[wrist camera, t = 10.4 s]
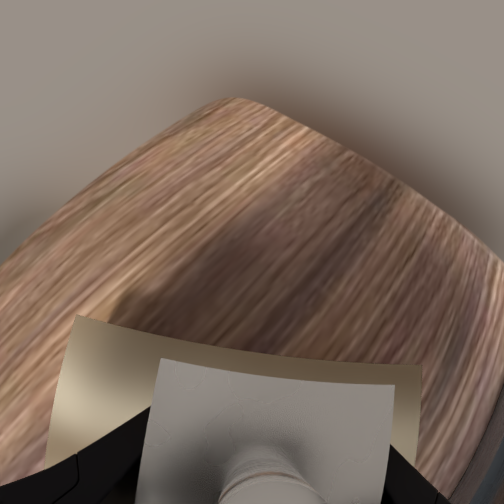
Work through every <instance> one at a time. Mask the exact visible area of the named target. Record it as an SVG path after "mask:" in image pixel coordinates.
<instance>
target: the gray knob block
mask: <svg viewBox="0 0 504 504" xmlns="http://www.w3.org/2000/svg"><path fill="white" fill-rule="evenodd" d="M394 392H395V385H370V384H346V383H329V382H316V381H304V380H294V379H284V378H276V377H268V376H260V375H253V374H246V373H239V372H232V371H226V370H220V369H215V368H209V367H204V366H198V365H193V364H188V363H183V362H178V361H174V360H169V359H165V358H161V360H160V364H159V369H158V374H157V378H156V383H155V388H154V393H153V398H152V403H151V408H150V413H149V418H148V424H147V429H146V435H145V440H144V446H143V452H142V458H141V465H140V471H139V478H138V484H137V492H136V499H135V504H380V503H381V498H382V493H383V488H384V482H385V476H386V470H387V463H388V456H389V448H390V440H391V430H392V420H393V408H394Z"/></svg>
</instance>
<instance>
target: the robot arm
mask: <svg viewBox="0 0 504 504" xmlns="http://www.w3.org/2000/svg"><path fill="white" fill-rule="evenodd" d="M150 408H151V406H149V407H148V408H146V409H145V410H143V411H142V412H140V413H139V414H137V415H136V416H134V417H133V418H131V419H130V420H128V421H126V422H125V423H123V424H122V425H120V426H119V427H117V428H116V429H114V430H112V431H111V432H109V433H108V434H106V435H105V436H103V437H101V438H100V439H98V440H96V441H95V442H93V443H92V444H90V445H88V446H87V447H85V448H83V449H82V450H80V451H78V452H77V454H73V455H71V456H70V457H68V458H66V459H64V460H63V461H61V462H59V463H57V464H55V465H53V466H51V467H49V468H47V469H45V470H42V471H40V472H38V473H35V474H33V475H30V476H28V477H25V478H22V479H20V480H17V481H14V482H11V483H9V484H6V485H3V486H0V504H135V499H136V492H137V484H138V478H139V471H140V465H141V458H142V452H143V446H144V440H145V435H146V429H147V424H148V418H149V413H150ZM380 504H452V503H450V502H449V501H448V500H447V499H446V498H445V497H444V496H443V495H442V494H441V493H440V492H438V491H437V489H436V488H434V487H433V486H432V485H431V484H430V483H429V482H428V481H427V480H426V479H425V478H424V477H423V476H422V475H421V474H420V473H419V472H418V471H417V470H416V469H415V468H414V467H413V466H412V465H411V464H410V463H409V462H408V461H407V460H406V459H405V458H404V457H403V456H402V455H401V454H400V453H399V452H398V451H397V450H396V449H395V448H394V447H393V446H392V445H391V444H390V448H389V456H388V463H387V470H386V476H385V482H384V488H383V493H382V498H381V503H380Z"/></svg>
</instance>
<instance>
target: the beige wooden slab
mask: <svg viewBox="0 0 504 504" xmlns="http://www.w3.org/2000/svg"><path fill="white" fill-rule="evenodd" d="M161 358H165V359H169V360H174V361H178V362H183V363H188V364H193V365H198V366H204V367H209V368H215V369H220V370H226V371H232V372H239V373H246V374H253V375H260V376H268V377H276V378H284V379H294V380H304V381H316V382H329V383H346V384H370V385H395V392H394V408H393V420H392V430H391V440H390V444H391V445H392V446H393V447H394V448H395V449H396V450H397V451H398V452H399V453H400V454H401V455H402V456H403V457H404V458H405V459H406V460H407V461H408V462H409V463H410V464H411V465H412V466H413V467H414V466H415V459H416V452H417V444H418V434H419V424H420V411H421V393H422V365H402V364H374V363H356V362H341V361H328V360H317V359H307V358H297V357H288V356H280V355H272V354H264V353H257V352H250V351H243V350H236V349H230V348H224V347H218V346H212V345H206V344H201V343H195V342H190V341H185V340H180V339H175V338H170V337H165V336H160V335H156V334H151V333H147V332H142V331H138V330H134V329H130V328H126V327H122V326H117V325H114V324H110V323H106V322H102V321H98V320H95V319H91V318H87V317H84V316H80V315H77V314H76V317H75V320H74V324H73V327H72V330H71V334H70V337H69V341H68V344H67V348H66V352H65V356H64V360H63V364H62V368H61V372H60V376H59V380H58V385H57V389H56V394H55V399H54V404H53V409H52V415H51V421H50V427H49V433H48V440H47V447H46V456H45V465H44V470H45V469H47V468H49V467H51V466H53V465H55V464H57V463H59V462H61V461H63V460H64V459H66V458H68V457H70V456H71V455H73V454H77V452H78V451H80V450H82V449H83V448H85V447H87V446H88V445H90V444H92V443H93V442H95V441H96V440H98V439H100V438H101V437H103V436H105V435H106V434H108V433H109V432H111V431H112V430H114V429H116V428H117V427H119V426H120V425H122V424H123V423H125V422H126V421H128V420H130V419H131V418H133V417H134V416H136V415H137V414H139V413H140V412H142V411H143V410H145V409H146V408H148V407H149V406H151V403H152V398H153V393H154V388H155V383H156V378H157V374H158V369H159V364H160V360H161Z"/></svg>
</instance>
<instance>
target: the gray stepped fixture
mask: <svg viewBox="0 0 504 504" xmlns="http://www.w3.org/2000/svg"><path fill="white" fill-rule="evenodd" d="M449 502H450V503H452V504H504V386H503V389H502V391H501V394H500V397H499V400H498V403H497V405H496V408H495V410H494V413H493V415H492V418H491V420H490V423H489V425H488V427H487V430H486V432H485V434H484V436H483V439H482V441H481V443H480V445H479V447H478V449H477V451H476V453H475V455H474V457H473V459H472V461H471V463H470V465H469V467H468V469H467V470H466V472H465V474H464V476H463V478H462V479H461V481H460V483H459V484H458V486H457V488H456V490H455V491H454V493H453V494H452V496H451V498H450V499H449Z"/></svg>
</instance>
